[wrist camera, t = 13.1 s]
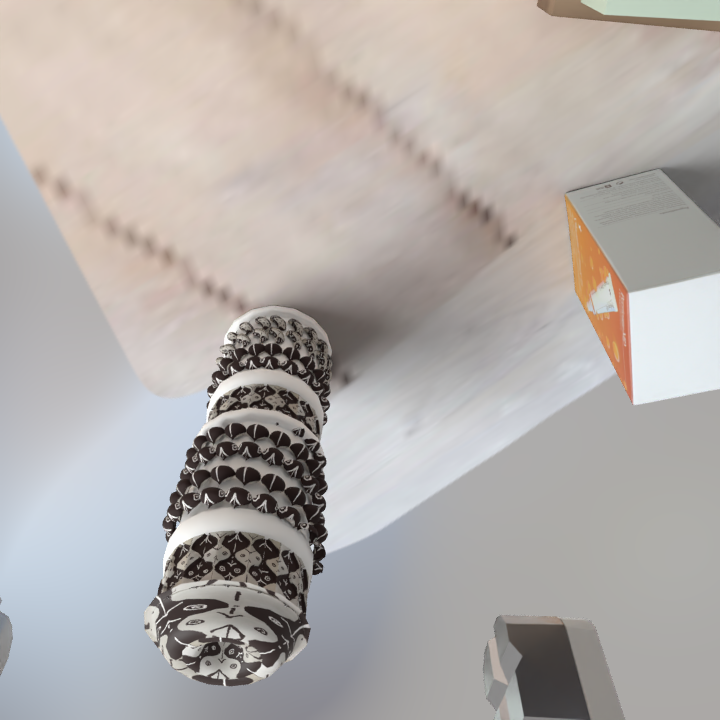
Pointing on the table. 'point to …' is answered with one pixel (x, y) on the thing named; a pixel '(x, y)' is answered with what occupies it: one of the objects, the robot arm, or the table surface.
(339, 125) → the table surface
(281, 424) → the decorative candle
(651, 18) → the tower base
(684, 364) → the small box
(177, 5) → the table surface
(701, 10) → the tower top
